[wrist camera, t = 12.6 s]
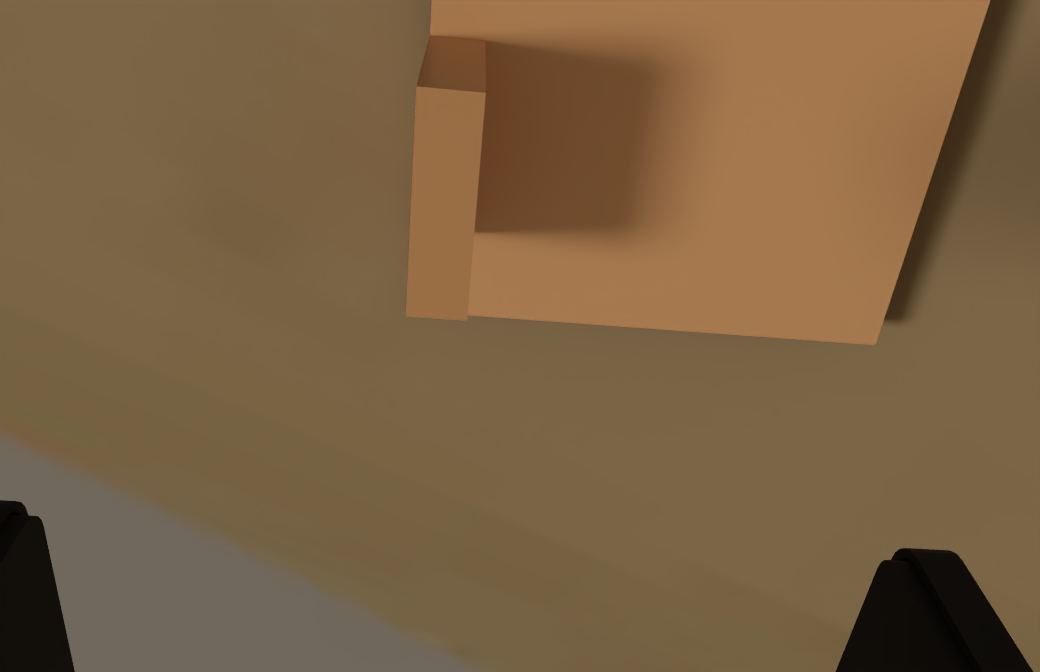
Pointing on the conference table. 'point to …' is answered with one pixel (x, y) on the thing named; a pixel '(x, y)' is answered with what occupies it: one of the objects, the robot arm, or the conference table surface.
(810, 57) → the lid
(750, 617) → the conference table surface
